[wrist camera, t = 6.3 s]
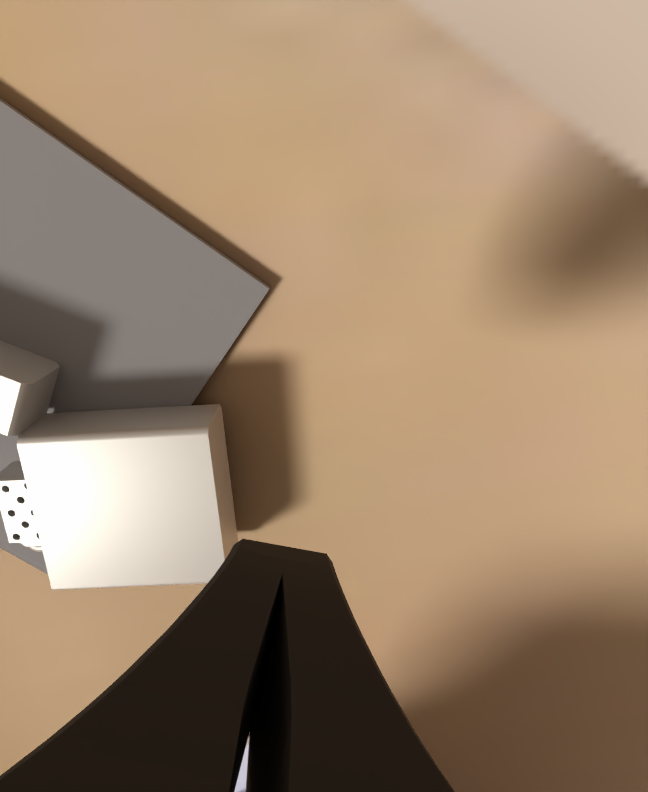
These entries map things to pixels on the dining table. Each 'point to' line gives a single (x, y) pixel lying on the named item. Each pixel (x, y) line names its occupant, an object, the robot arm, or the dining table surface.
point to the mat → (105, 287)
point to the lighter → (113, 485)
